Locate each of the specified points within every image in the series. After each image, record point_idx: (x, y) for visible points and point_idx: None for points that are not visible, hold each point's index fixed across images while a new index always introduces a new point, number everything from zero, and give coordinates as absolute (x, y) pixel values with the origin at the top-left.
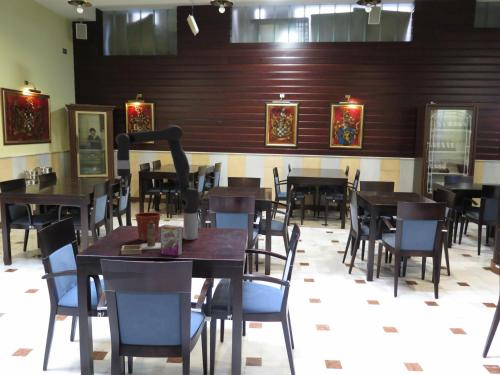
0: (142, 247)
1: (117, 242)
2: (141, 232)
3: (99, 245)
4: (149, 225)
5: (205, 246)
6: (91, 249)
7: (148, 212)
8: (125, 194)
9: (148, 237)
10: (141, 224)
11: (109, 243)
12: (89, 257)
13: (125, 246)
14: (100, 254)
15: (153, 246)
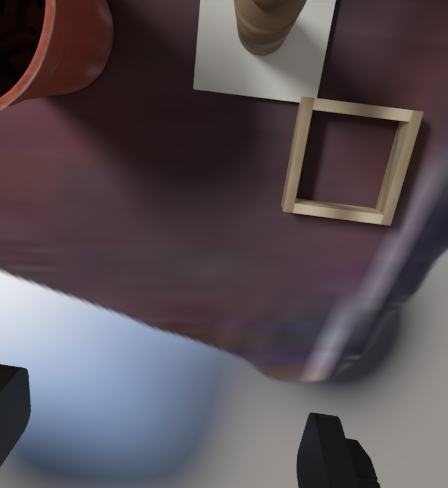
0: (293, 93)
1: (117, 221)
2: (80, 75)
3: (162, 305)
4: (302, 7)
5: None
6: (229, 338)
7: None
8: (345, 444)
9: (283, 39)
10: (58, 69)
11: (131, 260)
12: (365, 348)
13: (295, 195)
14: (333, 307)
15: None
